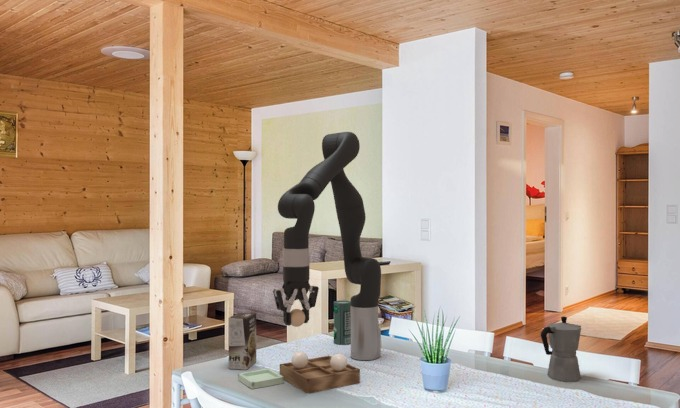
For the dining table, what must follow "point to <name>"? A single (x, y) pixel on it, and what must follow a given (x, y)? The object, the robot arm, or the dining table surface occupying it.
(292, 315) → the brown egg
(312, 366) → the egg tray
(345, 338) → the can
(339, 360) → the white egg
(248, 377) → the dish
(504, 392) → the dining table surface
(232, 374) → the dining table surface
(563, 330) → the coffeepot
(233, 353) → the coffee box
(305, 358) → the white egg
